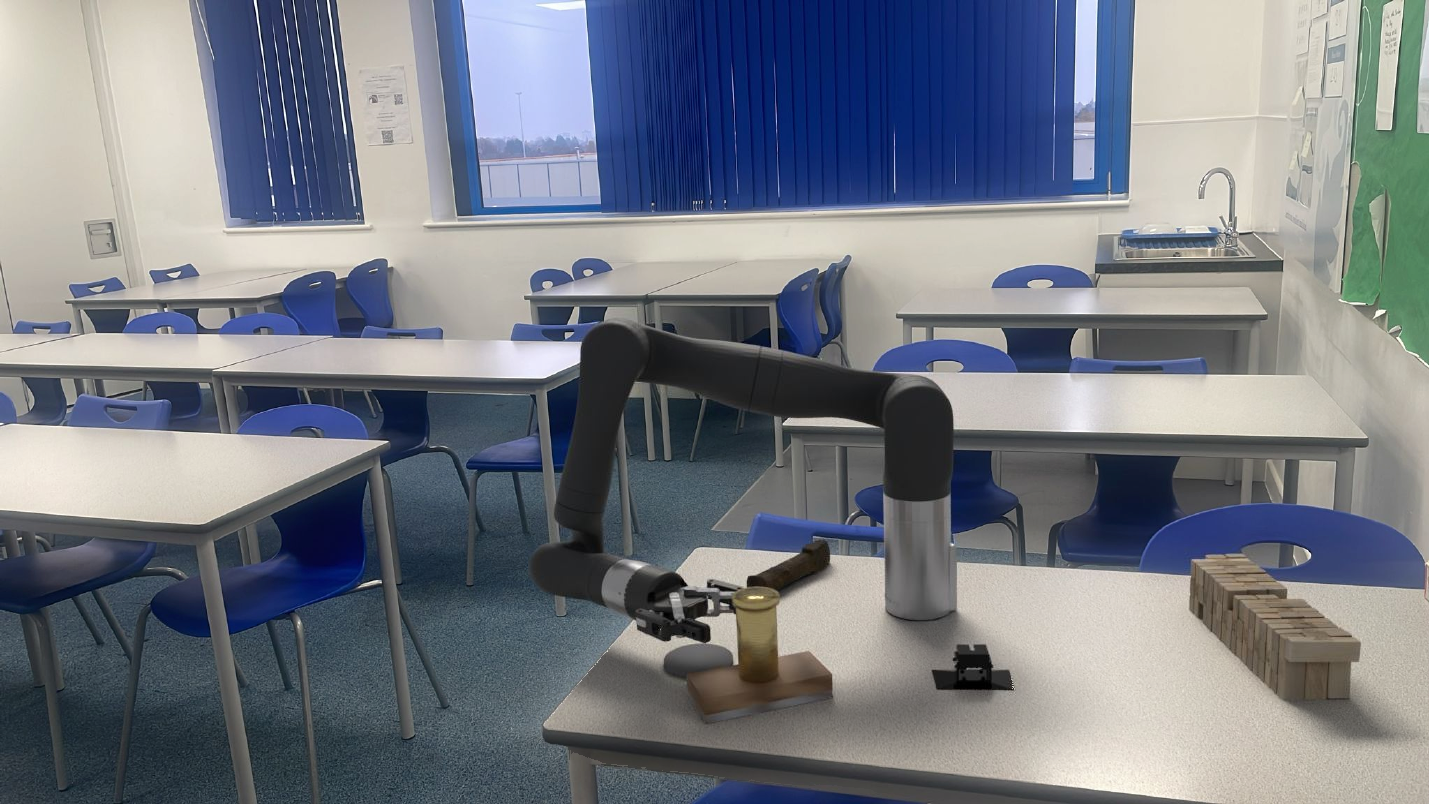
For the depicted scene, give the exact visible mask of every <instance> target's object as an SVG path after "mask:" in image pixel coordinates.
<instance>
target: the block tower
mask: <svg viewBox="0 0 1429 804" xmlns="http://www.w3.org/2000/svg"><path fill="white" fill-rule="evenodd" d="M1204 557H1205V558H1194V559H1193V558H1192V559H1191V560H1190V580H1189V582H1190V583H1189V585H1190V586H1189V594H1190V595H1189V600H1188V603H1189V604H1188V610H1189V612H1191V613H1192V614H1193V615H1194V617H1196V618H1197V619H1202V624H1203V625H1204V626H1205V627H1206V629H1207V630H1209V632H1211V633H1212V634H1213V635H1214V636H1215V637H1216V638H1217V639H1218V640H1219V641H1221V643H1222V644H1223V645H1224V646H1225V647H1226V648H1227V650H1228V651H1230V652H1231V653H1232V654H1233V655H1234V656H1236V657H1237V659H1239V661H1240V662H1241V663H1242V664H1243V666H1245V667H1247V669H1248V670H1249V671H1250V672H1252V674H1254V675H1255V677H1257V678H1259V680H1260V681H1261V682H1262V683H1264V685H1265V686H1266V687H1267V688H1269V689H1270V690H1271V691H1272V692H1273V693H1274V694H1276V695H1277V697H1278V698H1280V700H1282V701H1302V700H1306V701H1307V700H1308V701H1309V700H1327V699H1348V698H1349V699H1350V696H1351V695H1350V694H1351V678H1352V677H1351V676H1352V675H1351V674H1352V663H1358V662H1360V658H1361V656H1360V655H1361V649H1362V648H1361V646H1362V641H1361V640H1359V639H1357V638H1356V637H1354V636H1353V635H1352V634H1351V633H1350V632H1349V631H1347V630H1344V628H1342V627H1339V626H1338V625H1336V624H1335V623H1333V621H1332V620H1331V619H1330V618H1327V617H1326V616H1325V615H1324V614H1322V613H1321V612H1320V611H1319V610H1318V609H1317V608H1315V607H1312V605H1311V604H1309V603H1308V602H1307V601H1306V600H1305V599H1304V598H1288V588H1287V587H1286V586H1284V585H1283V584H1282V583H1281V582H1279V581H1277V579H1275V578H1273V577H1272V576H1271V575H1270V574H1268V573H1267V571H1266V570H1265V569H1263V568H1261V567H1260V566H1259V565H1257V564H1256V563H1255V562H1253V561H1251V560H1250V559H1249V558H1248V557H1247V556H1246V555H1245V554H1244V553H1225V554H1206V555H1205V556H1204Z"/></svg>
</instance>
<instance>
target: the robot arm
mask: <svg viewBox="0 0 1429 804" xmlns="http://www.w3.org/2000/svg"><path fill="white" fill-rule="evenodd" d="M579 351H580V353H579V355H580V356H579V373H578V374H579V375H578V393H577V394H578V395H577V403H576V408H575V410H576V411H575V418H574V424H573V427H572V431H571V436H570V441H569V445H568V449H567V454H566V457H565V460H564V464H563V468H562V472H561V473H562V474H561V476H560V481H559V486H558V490H557V494H556V499H555V503H554V509H553V518H554V520H555V521H556V523H557V524H558V525H560V526H562V527H563V528H565V529H568V530H572V531H571V532H572V538H571V540H569V541H549V542H546V543H544V544H541V545H539V546H538V547H537V548H536V549H535V550H534V551H533V553H531V555H530V558H529V562H528V573H529V576H530V579H531V581H532V583H534V585H535V586H536V587H537V588H539V589H540V590H541V591H542V592H544V593H546V594H549V595H552V596H558V597H562V598H568V599H574V600H583V601H586V602H587V601H588V602H591V603H593V604H596V605H598V606H601V607H604V608H606V609H610V611H613V612H615V613H617V614H619V615H620V616H622V617H625V618H628V619H631V620H633V621H635V623H636V630H637V631H639V632H640V633H644V634H645V635H647V636H650V637H652V638H655V639H657V640H659V641H662V642H670V641H672V637H676V638H677V639H682V638H688V639H690V640H693V641H696V642H700V643H701V644H708V643H709V642H711V641H712V637H711V635H712V634H711V627H710V625H709V623H706V622H702V621H700V620H697V619H699V618H703V617H704V618H711V617H712V618H715V617H716V618H717V617H719V616H720V614H733V615H735V616H736V607H734V606H733V605H732V594H733V593H734V592H735V591H737V590H740V589H743V588H745V587H744V586H740V585H736V584H733V583H729V582H727V581H722V580H719V579H718V580H717V579H715V578H710V579H707V580H706V586H705V587H699V586H695V585H693V586H692V585H691V586H690V585H689V584H688V583H687V582H686V581H685V579H684V578H683V576H682V575H680V574H679V573H677V571H673V570H669V569H667V568H663V567H660V566H657V565H653V564H651V563H648V562H644V561H640V560H635V559H634V560H632V559H631V560H630V559H628V558H625V557H622V556H619V555H616V554H615V555H614V554H611V553H605V545H604V543H605V542H604V538H605V537H604V535H605V533H604V517H605V516H604V515H605V512H606V507H607V503H608V497H609V495H610V491H611V485H612V479H613V475H614V467H615V459H616V452H617V451H616V450H617V449H616V448H617V442H618V434H619V429H620V426H621V421H622V417H623V413H624V410H625V408H626V406H627V405H626V404H627V402H628V400H629V397H630V394H631V392H632V390H633V388H634V385H635V384H636V383H643V384H645V383H646V384H653V385H661V386H668V387H669V386H670V387H674V388H678V389H683V390H686V391H688V392H691V393H694V394H697V395H699V396H701V397H704V398H706V399H708V400H711V401H713V402H716V403H719V404H722V405H725V406H728V407H731V408H734V409H738V410H741V411H746V412H750V413H756V414H760V415H765V416H771V417H777V418H785V419H821V418H824V419H825V418H830V419H831V418H833V419H834V418H835V419H844V420H849V421H854V422H858V423H862V424H866V425H870V426H872V427H877V428H880V429H883V436H884V437H883V438H884V439H883V441H884V442H883V443H884V445H883V446H884V468H883V475H882V485H883V486H882V488H883V489H882V492H883V494H882V495H883V497H882V498H883V503H882V504H883V541H884V542H883V549H884V551H883V553H884V557H883V558H884V603H885V604H884V605H885V610H886V611H887V612H888V613H889V614H891V615H893V616H894V617H898V618H901V619H906V620H911V621H927V620H929V621H930V620H935V619H938V618H942V617H945V616H947V615H948V614H949V613H950V612H952V611H956V610H957V609H958V552H957V551H958V549H957V548H958V547H957V545H956V544H954V543H953V542H952V540H951V538H952V537H951V534H952V532H951V531H952V529H951V528H952V527H951V525H952V524H951V523H952V521H951V520H952V518H951V517H952V515H951V510H952V509H951V507H952V506H951V505H952V503H951V500H952V499H951V498H952V497H951V489H952V488H951V485H952V484H951V483H952V482H951V481H952V478H953V474H954V473H953V472H954V443H955V442H954V440H955V439H954V430H955V429H954V426H955V425H954V412H953V411H954V410H953V407H952V403H951V401H950V400H949V397H948V396H947V394H946V393H945V392H944V391H943V388H941V387H940V385H938V384H937V383H936V382H935V381H934V380H932V379H930V378H929V377H927V376H923V375H920V374H914V373H913V374H911V373H898V372H897V373H896V372H888V371H887V372H885V371H874V370H865V369H859V368H853V367H847V366H845V365H841V364H838V363H834V362H830V361H826V360H823V359H819V358H815V357H812V356H807V355H805V354H804V355H803V354H800V353H799V354H798V353H795V352H792V351H788V350H783V349H778V348H772V347H766V346H761V345H756V344H748V343H742V342H735V341H727V340H716V339H706V338H705V339H704V338H694V337H688V336H684V335H681V334H675V333H673V332H668V331H665V330H661V329H659V328H655V327H652V326H650V325H649V326H648V325H646V324H643V323H640V322H637V321H634V320H631V319H628V318H623V317H615V318H608V319H606V320H603V321H601V322H599V323H597V324H595V325H593V327H591V328H590V329H589V330H588V331H587V332H586V334H585V335H584V337H583V339H582V341H581V344H580V349H579ZM710 600H711V603H712V602H713V608H712V609H709V601H710ZM721 604H724V605H721Z"/></svg>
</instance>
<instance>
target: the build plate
mask: <svg viewBox="0 0 1429 804" xmlns="http://www.w3.org/2000/svg"><path fill="white" fill-rule="evenodd" d="M970 647H971V646H970V644H967V643H964V644H963V643H961V644H960V643H957V644H956V645H955V651H953V656H952V657H951V658H952V662H953V669H931V674H932V679H933V682H934V686H935V689H936V691H1010V692H1011V691H1012V692H1013V691H1015V690H1014V688H1015V689H1016V687H1015V684H1014V680H1013V677H1012V674H1011V671H1010V669H994V664H993V662H992V657H991V655H990V651H989V650H988V646H987V644H986V643H983V644H982V643H981V644H980V643H977V644H975V643H974V644H973V645H972V647H973V650H971V648H970ZM1011 677H1012V678H1011ZM1011 679H1012V680H1013V681H1012V680H1011ZM1012 682H1013V683H1012ZM1012 684H1014V685H1012ZM1012 686H1014V688H1013V687H1012ZM1012 688H1013V689H1012Z"/></svg>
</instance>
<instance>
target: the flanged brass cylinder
mask: <svg viewBox="0 0 1429 804" xmlns="http://www.w3.org/2000/svg"><path fill="white" fill-rule="evenodd" d="M779 604H780V593H779V591H778V590H777V591H776V590H774V589H771V588H767V587H747V586H746V587H744V588H743V589H740V590H737V591H735V592H734V593H733V594H732V605H733V606H734V607H736V615H735V620H736V621H735V622H736V643H737V662H738V663H737V664H738V667H739V677H740V678H741V679H742V680H743V681H746V682H749V683H767V682H770V681H773V680H775V679H776V678H777V677H778V676H779V662H778V657H779V644H778V642H779V641H778V639H779V636H778V618H777V617H778V613H777V606H779Z"/></svg>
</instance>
